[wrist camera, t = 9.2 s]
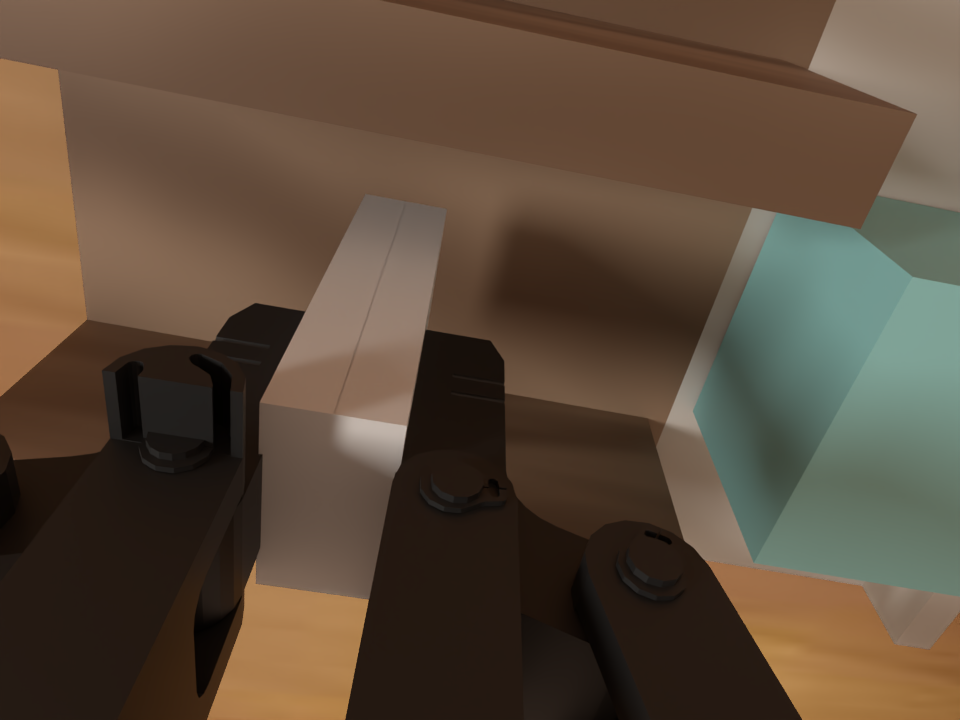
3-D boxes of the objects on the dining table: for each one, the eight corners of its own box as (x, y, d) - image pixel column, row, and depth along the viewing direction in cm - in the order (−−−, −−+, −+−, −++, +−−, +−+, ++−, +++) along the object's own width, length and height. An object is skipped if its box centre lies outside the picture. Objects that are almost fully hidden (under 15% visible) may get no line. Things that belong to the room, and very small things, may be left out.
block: (791, 178, 14) (912, 276, 10) (1103, 241, 15) (1346, 361, 11) (692, 411, 17) (753, 563, 13) (953, 457, 18) (1095, 618, 14)
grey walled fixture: (49, -298, 12) (-308, -489, 7) (1275, -12, 13) (1760, 15, 8) (121, 440, 20) (-14, 612, 15) (878, 565, 21) (996, 760, 16)
